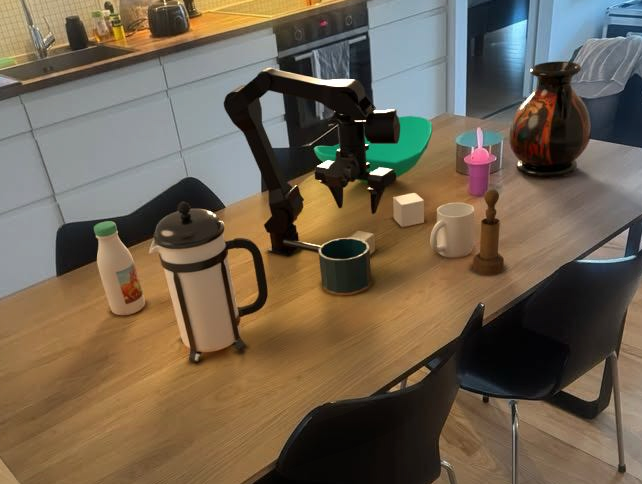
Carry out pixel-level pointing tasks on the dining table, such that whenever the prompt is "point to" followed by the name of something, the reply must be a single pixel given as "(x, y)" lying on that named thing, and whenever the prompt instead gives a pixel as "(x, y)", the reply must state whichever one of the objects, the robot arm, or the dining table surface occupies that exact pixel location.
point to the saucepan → (341, 264)
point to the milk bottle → (117, 271)
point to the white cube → (408, 209)
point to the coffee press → (204, 279)
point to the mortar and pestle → (489, 239)
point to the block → (365, 239)
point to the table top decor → (392, 147)
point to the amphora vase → (550, 124)
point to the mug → (453, 230)
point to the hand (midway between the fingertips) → (356, 210)
